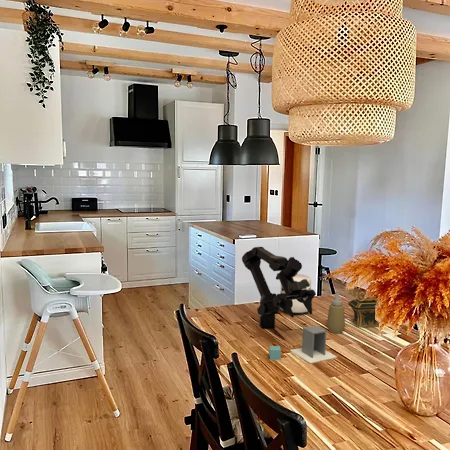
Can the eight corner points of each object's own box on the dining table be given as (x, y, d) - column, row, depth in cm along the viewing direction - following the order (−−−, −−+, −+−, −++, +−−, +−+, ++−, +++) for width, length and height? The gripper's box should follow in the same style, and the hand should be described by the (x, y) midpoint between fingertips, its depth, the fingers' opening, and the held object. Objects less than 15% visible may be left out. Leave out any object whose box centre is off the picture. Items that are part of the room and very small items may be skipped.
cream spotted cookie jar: (273, 306, 233) (274, 274, 230) (303, 305, 237) (304, 272, 234) (285, 317, 216) (286, 282, 214) (317, 315, 220) (318, 280, 218)
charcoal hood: (314, 349, 176) (315, 325, 175) (325, 355, 171) (326, 330, 169) (301, 351, 174) (302, 327, 172) (312, 358, 168) (313, 333, 167)
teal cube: (279, 355, 171) (279, 346, 170) (280, 360, 167) (280, 350, 166) (269, 355, 171) (269, 346, 170) (270, 360, 167) (270, 350, 166)
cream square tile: (316, 345, 181) (316, 344, 181) (337, 357, 169) (337, 356, 169) (290, 351, 175) (290, 350, 175) (310, 363, 164) (310, 362, 164)
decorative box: (378, 320, 214) (380, 281, 211) (388, 327, 204) (391, 286, 202) (340, 321, 211) (342, 282, 208) (348, 328, 201) (350, 287, 199)
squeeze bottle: (346, 329, 200) (348, 291, 198) (343, 335, 192) (345, 296, 190) (328, 327, 203) (330, 289, 201) (324, 332, 196) (326, 294, 194)
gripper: (277, 274, 176) (292, 309, 168) (314, 270, 184) (330, 303, 176) (266, 289, 184) (280, 322, 176) (302, 284, 192) (317, 316, 184)
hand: (302, 315), depth 178 cm, fingers open, 9 cm apart
